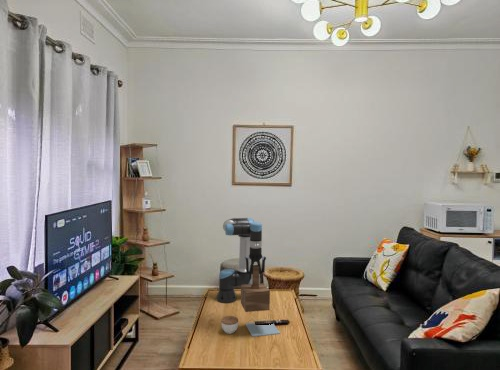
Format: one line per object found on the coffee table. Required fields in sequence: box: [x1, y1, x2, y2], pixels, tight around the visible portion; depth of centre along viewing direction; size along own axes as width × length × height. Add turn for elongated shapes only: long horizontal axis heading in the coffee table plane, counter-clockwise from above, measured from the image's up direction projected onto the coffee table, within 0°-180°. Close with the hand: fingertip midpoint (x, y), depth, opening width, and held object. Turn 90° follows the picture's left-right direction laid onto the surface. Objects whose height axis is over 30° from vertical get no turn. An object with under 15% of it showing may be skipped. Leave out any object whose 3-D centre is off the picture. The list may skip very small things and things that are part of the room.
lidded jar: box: [220, 315, 239, 334], centre depth 224 cm, size 11×11×9 cm
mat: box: [244, 321, 281, 338], centre depth 229 cm, size 18×18×1 cm
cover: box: [240, 264, 271, 313], centre depth 226 cm, size 15×15×26 cm
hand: (255, 283), depth 226 cm, fingers closed on cover, 4 cm apart
